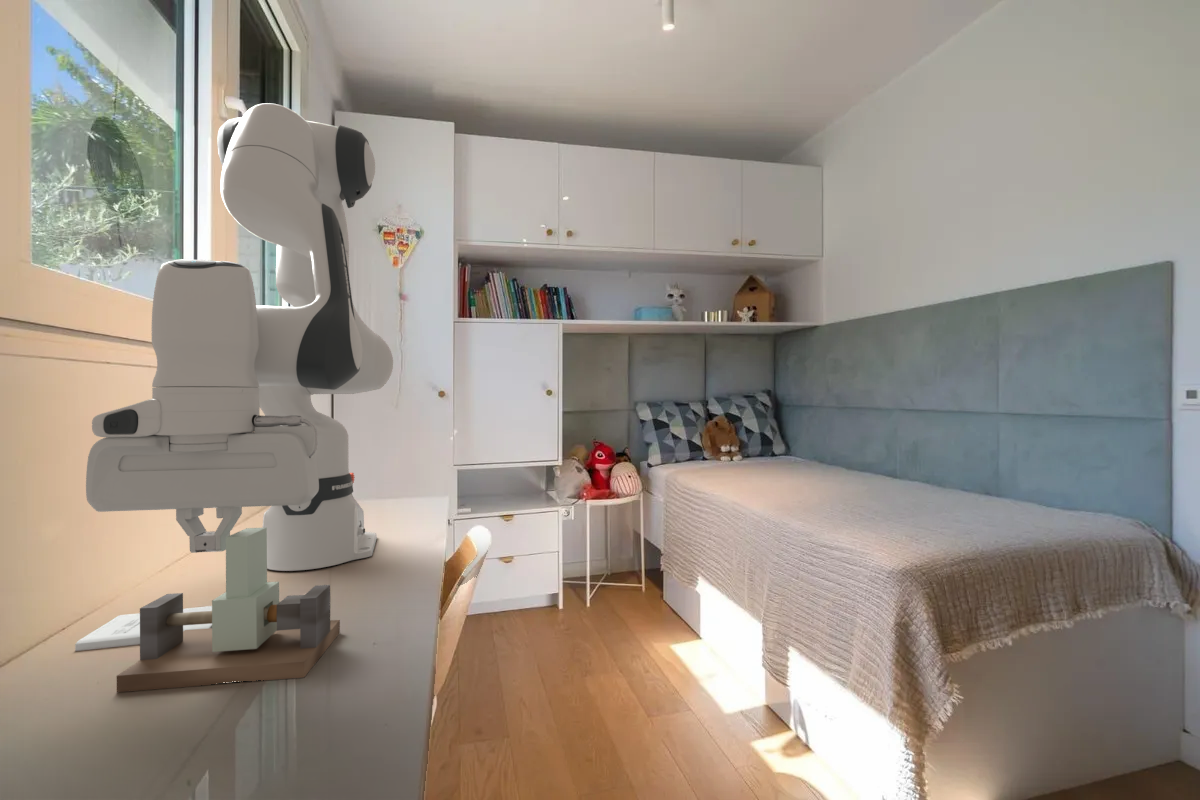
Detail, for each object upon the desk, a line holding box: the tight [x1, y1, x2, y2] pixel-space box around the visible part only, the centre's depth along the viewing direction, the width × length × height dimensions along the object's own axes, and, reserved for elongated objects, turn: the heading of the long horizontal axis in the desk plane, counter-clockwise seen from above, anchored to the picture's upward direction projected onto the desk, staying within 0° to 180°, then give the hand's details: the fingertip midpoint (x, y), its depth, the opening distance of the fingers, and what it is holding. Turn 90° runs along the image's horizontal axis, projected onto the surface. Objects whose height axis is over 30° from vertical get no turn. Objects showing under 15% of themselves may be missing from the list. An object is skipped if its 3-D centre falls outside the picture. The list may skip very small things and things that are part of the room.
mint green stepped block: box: [211, 527, 280, 652], centre depth 55 cm, size 5×4×11 cm
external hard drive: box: [74, 605, 212, 652], centre depth 62 cm, size 2×8×12 cm
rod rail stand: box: [116, 584, 341, 693], centre depth 55 cm, size 10×16×6 cm, turn 98°
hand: (210, 550), depth 55 cm, fingers closed
